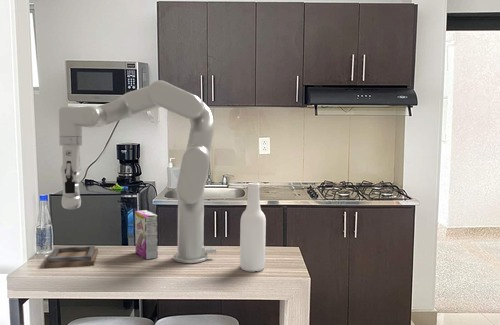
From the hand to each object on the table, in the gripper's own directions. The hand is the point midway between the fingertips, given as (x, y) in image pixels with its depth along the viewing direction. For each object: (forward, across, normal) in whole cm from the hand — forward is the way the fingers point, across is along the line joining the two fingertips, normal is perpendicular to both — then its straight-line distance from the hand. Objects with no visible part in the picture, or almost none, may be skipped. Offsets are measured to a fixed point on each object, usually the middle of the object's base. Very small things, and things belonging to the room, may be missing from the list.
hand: (71, 191), depth 164 cm
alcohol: (+25, -21, -62) cm, 70 cm away
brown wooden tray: (+25, 0, 0) cm, 25 cm away
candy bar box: (+25, +1, -26) cm, 36 cm away
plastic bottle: (+7, 0, 0) cm, 7 cm away
